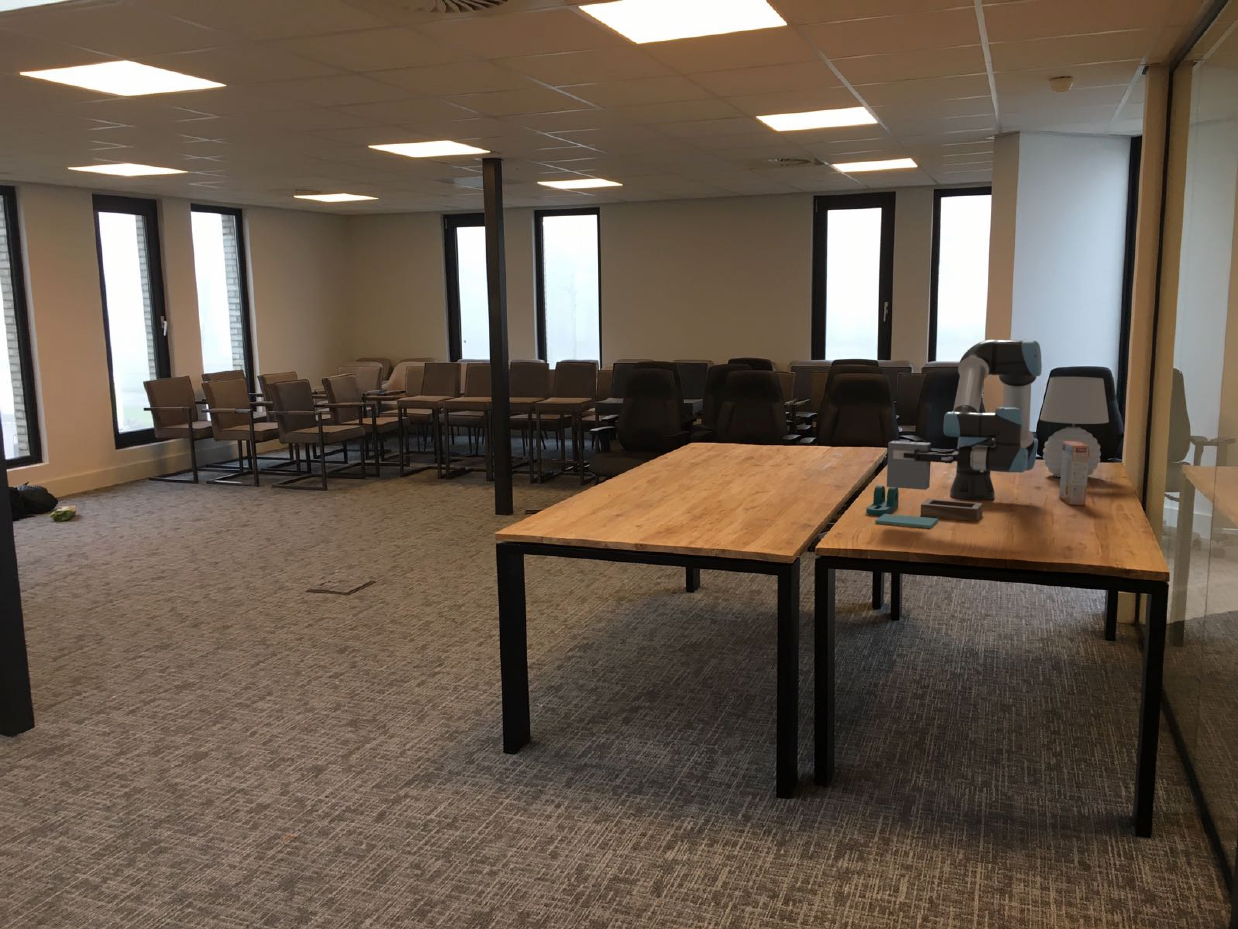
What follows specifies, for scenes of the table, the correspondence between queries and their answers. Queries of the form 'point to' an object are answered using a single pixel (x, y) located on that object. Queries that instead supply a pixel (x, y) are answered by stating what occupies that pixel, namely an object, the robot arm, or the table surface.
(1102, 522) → the table surface
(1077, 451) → the cracker box
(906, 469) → the dark grey block
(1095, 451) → the table lamp
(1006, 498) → the table surface
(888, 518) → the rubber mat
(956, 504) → the slotted block
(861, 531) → the table surface
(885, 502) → the bracket
